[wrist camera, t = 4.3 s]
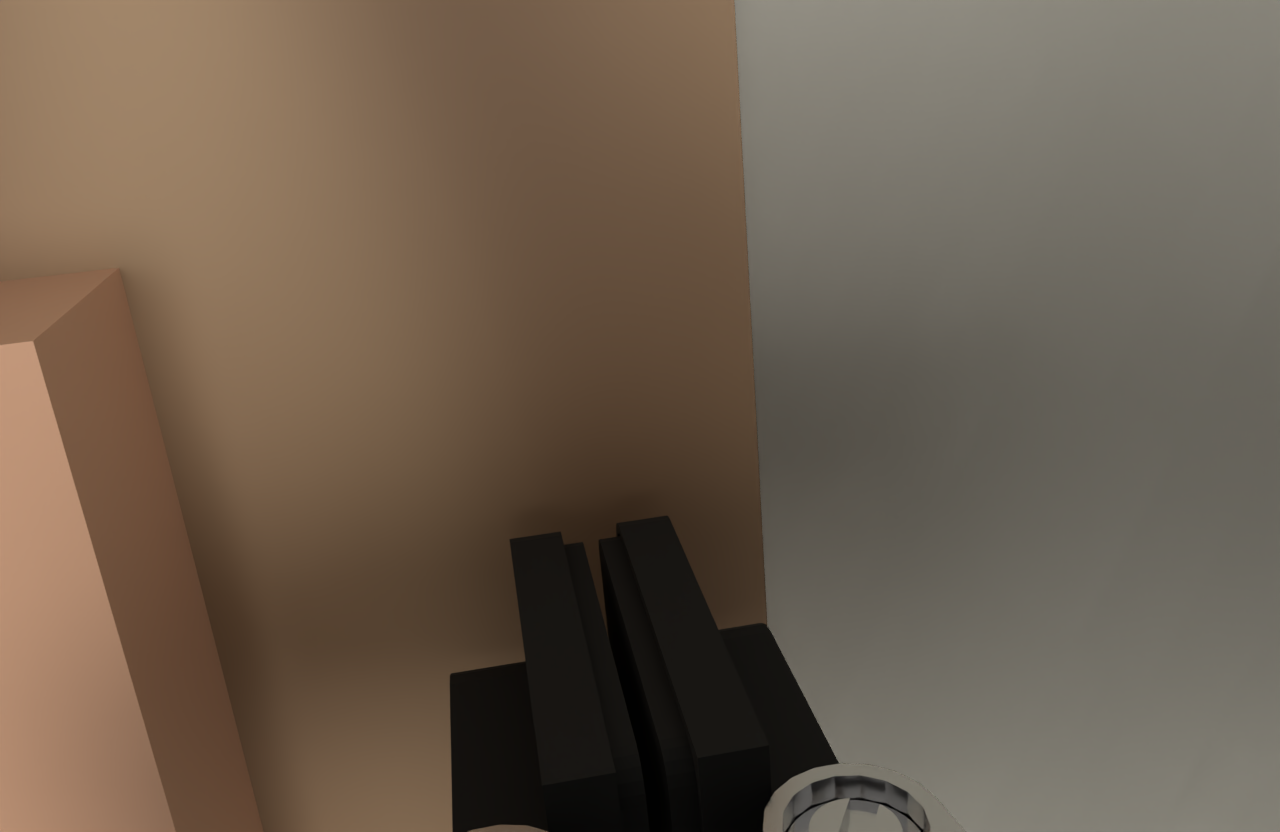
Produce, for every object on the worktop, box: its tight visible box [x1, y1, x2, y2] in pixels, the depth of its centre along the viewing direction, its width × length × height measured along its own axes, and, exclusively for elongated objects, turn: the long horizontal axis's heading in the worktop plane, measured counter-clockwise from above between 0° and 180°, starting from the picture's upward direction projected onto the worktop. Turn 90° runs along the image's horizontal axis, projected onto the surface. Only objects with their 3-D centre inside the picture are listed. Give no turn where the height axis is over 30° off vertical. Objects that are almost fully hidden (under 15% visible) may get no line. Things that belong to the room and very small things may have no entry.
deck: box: [0, 0, 767, 832], centre depth 14 cm, size 16×14×4 cm
